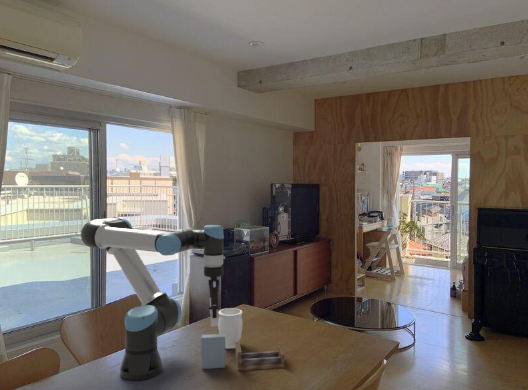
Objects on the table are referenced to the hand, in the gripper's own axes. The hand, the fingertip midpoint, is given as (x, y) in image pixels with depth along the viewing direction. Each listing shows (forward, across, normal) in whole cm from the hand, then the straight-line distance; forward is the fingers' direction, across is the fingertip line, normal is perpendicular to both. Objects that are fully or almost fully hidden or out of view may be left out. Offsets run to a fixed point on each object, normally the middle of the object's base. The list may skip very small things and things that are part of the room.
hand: (213, 319), depth 152 cm
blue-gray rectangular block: (+18, 0, 0) cm, 18 cm away
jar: (+18, +19, -8) cm, 28 cm away
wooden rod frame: (+18, 0, -18) cm, 26 cm away
